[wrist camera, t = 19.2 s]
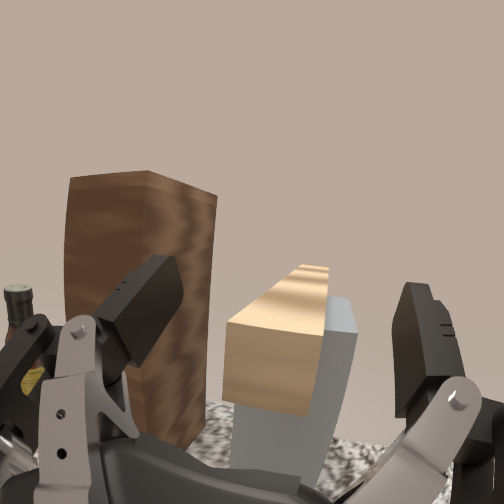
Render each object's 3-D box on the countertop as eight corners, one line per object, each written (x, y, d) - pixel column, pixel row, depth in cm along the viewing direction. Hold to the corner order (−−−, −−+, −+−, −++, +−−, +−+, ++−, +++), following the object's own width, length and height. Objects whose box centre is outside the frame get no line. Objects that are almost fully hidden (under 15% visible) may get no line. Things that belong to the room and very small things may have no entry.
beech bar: (299, 289, 32) (302, 263, 32) (325, 292, 31) (328, 266, 31) (222, 399, 9) (226, 321, 9) (307, 416, 8) (323, 336, 8)
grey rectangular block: (256, 443, 32) (274, 289, 31) (314, 453, 30) (348, 298, 29) (227, 503, 21) (241, 317, 19) (301, 518, 19) (357, 333, 17)
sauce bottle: (73, 420, 29) (53, 287, 28) (53, 442, 23) (20, 296, 22) (41, 406, 29) (20, 280, 28) (19, 425, 23) (-12, 287, 22)
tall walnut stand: (147, 405, 38) (149, 194, 36) (205, 425, 35) (217, 195, 33) (91, 449, 25) (70, 177, 23) (156, 484, 22) (147, 170, 20)
